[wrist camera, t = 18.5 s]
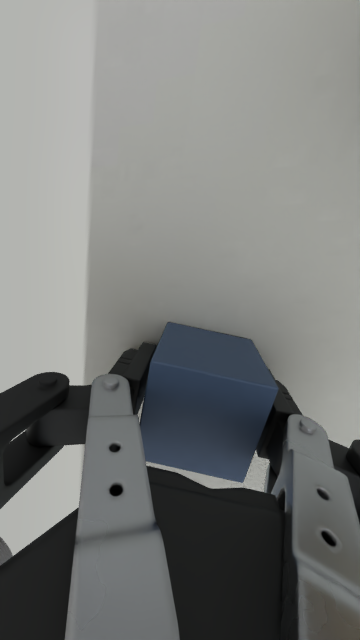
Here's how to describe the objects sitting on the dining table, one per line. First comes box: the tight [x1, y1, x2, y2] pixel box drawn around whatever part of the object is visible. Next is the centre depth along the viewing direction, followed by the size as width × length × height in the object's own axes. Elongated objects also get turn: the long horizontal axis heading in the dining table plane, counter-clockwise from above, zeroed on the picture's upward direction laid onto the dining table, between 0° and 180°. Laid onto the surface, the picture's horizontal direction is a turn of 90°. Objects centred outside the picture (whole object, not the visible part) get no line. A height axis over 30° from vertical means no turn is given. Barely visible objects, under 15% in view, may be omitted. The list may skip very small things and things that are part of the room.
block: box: [140, 322, 278, 483], centre depth 11 cm, size 4×4×4 cm
